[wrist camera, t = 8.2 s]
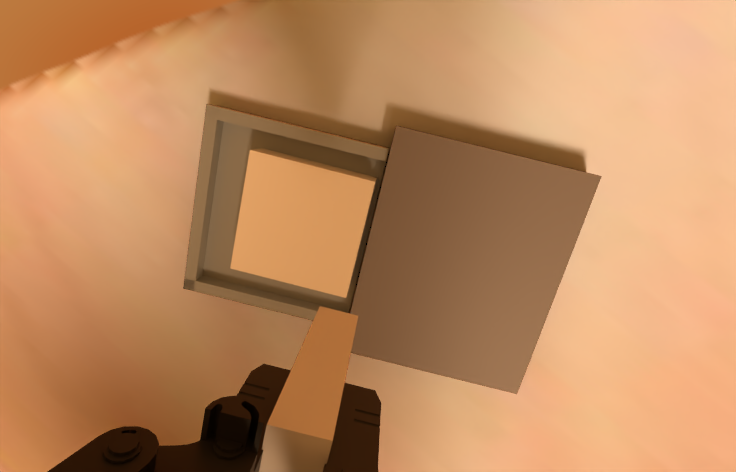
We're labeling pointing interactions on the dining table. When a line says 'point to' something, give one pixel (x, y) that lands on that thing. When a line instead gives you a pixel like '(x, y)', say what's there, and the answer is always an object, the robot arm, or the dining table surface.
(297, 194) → the coaster
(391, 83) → the dining table surface
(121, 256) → the dining table surface
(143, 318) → the dining table surface
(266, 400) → the robot arm
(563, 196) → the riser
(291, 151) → the tray
